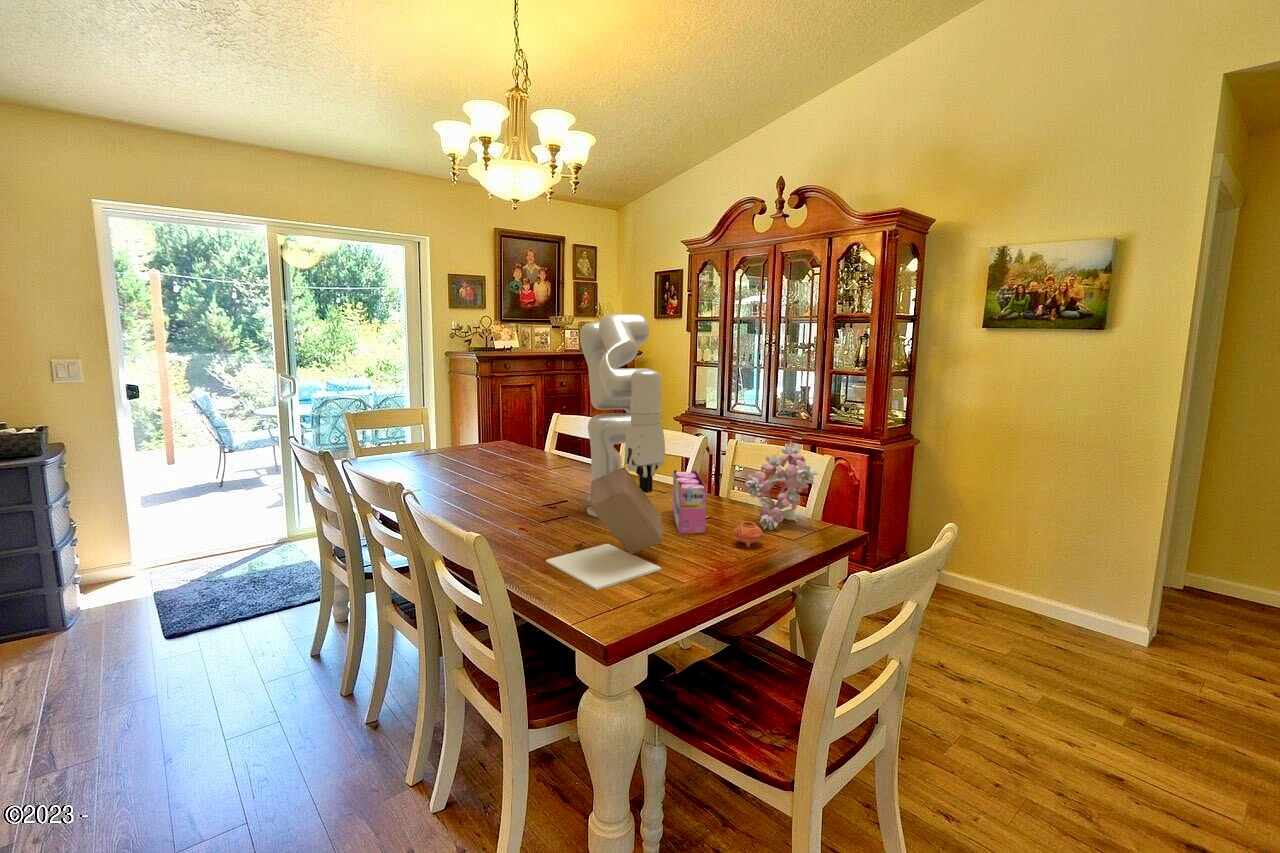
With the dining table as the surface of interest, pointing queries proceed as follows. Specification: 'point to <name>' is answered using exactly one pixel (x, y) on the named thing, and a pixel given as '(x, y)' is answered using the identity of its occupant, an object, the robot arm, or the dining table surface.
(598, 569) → the pale grey mat
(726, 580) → the dining table surface
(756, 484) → the flower
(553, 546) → the dining table surface
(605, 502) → the wooden block
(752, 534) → the pot
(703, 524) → the gum box
